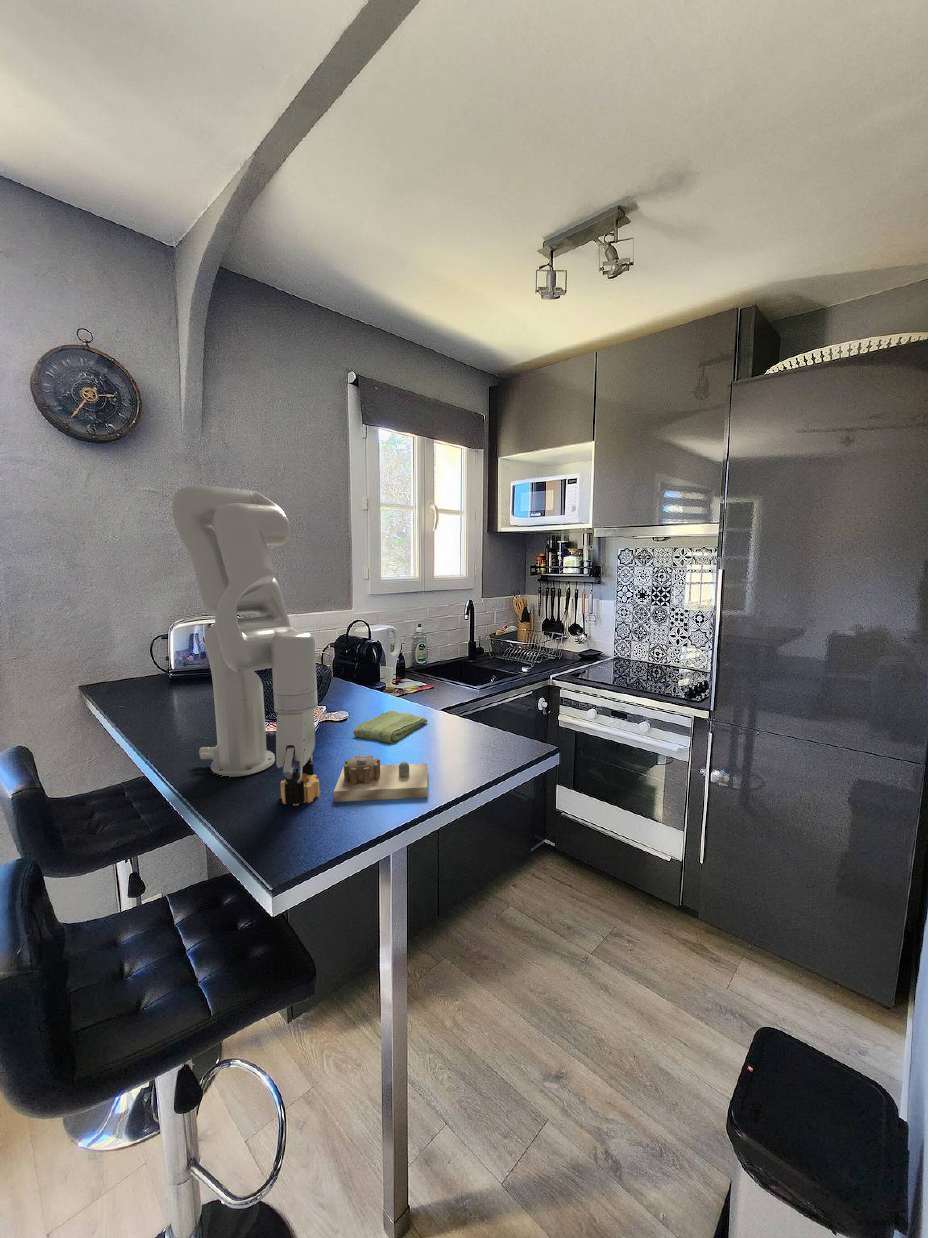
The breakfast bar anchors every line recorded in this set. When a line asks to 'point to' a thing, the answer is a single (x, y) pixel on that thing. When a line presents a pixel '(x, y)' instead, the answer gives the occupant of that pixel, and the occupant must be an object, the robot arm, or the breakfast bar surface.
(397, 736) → the washcloth
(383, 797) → the gear board
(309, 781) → the loose gear
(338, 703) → the breakfast bar surface
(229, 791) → the breakfast bar surface
